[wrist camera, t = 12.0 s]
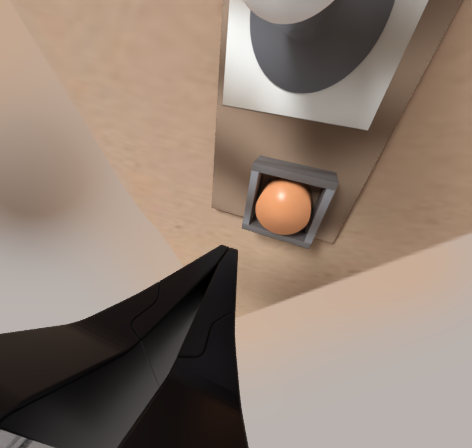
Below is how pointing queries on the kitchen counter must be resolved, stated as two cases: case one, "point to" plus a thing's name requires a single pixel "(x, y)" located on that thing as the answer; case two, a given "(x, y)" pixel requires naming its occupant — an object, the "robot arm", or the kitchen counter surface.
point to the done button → (284, 206)
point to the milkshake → (297, 16)
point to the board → (316, 104)
